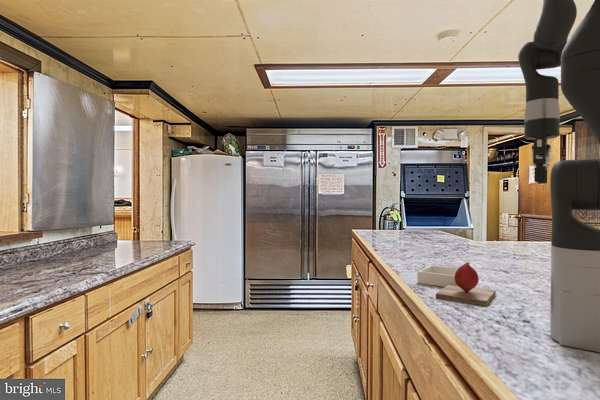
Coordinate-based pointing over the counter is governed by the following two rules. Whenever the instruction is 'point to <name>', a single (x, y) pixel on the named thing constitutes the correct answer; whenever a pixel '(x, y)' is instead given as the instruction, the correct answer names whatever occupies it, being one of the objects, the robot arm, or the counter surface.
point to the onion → (466, 277)
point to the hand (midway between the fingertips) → (541, 182)
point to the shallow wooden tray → (437, 275)
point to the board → (466, 295)
